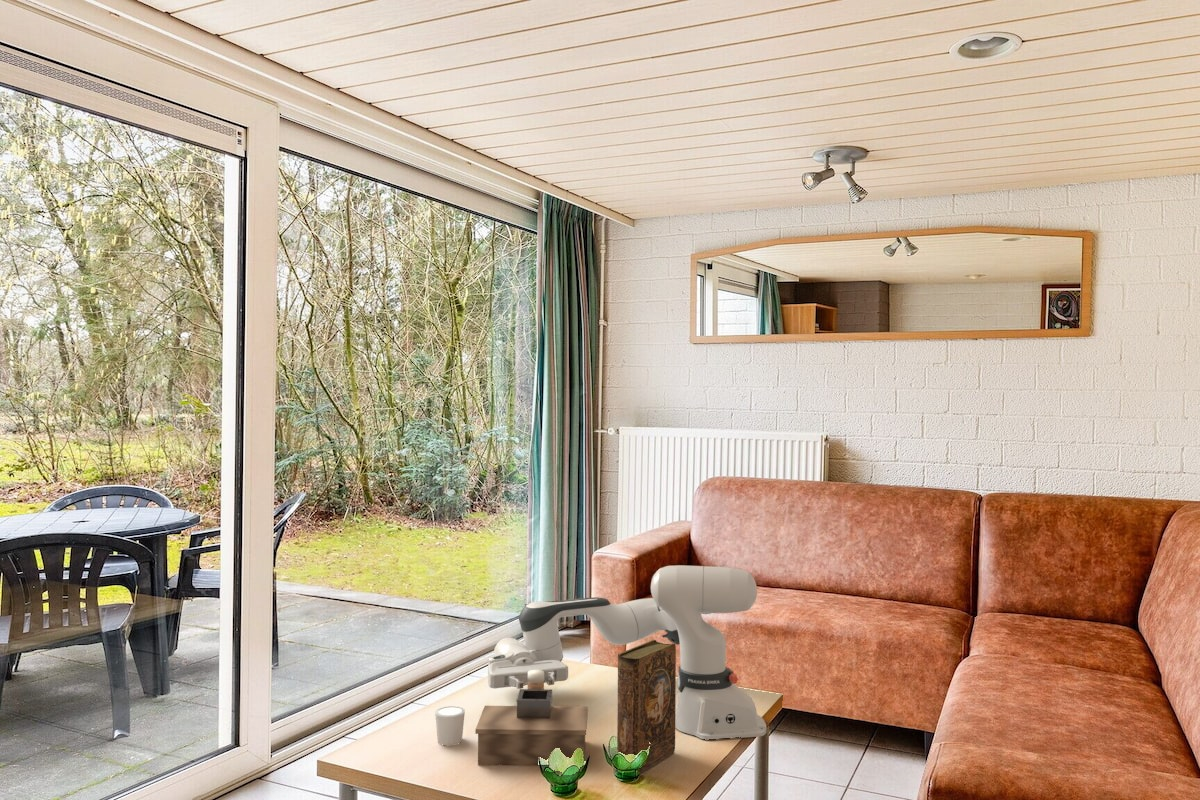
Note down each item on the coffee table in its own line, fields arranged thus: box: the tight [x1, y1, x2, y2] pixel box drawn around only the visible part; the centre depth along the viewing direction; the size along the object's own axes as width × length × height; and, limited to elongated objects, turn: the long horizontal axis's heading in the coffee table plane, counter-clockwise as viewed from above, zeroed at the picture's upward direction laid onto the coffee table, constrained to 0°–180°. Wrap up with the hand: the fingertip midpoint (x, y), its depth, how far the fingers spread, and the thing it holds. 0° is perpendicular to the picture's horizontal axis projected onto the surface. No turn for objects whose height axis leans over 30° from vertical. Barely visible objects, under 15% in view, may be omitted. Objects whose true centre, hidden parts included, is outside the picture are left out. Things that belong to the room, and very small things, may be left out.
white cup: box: [434, 705, 466, 746], centre depth 202 cm, size 7×7×7 cm
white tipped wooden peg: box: [526, 670, 545, 689], centre depth 211 cm, size 4×4×13 cm
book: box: [616, 639, 677, 776], centre depth 190 cm, size 16×6×25 cm, turn 144°
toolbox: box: [475, 688, 588, 767], centre depth 195 cm, size 24×14×12 cm, turn 90°
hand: (536, 683), depth 211 cm, fingers open, 6 cm apart
